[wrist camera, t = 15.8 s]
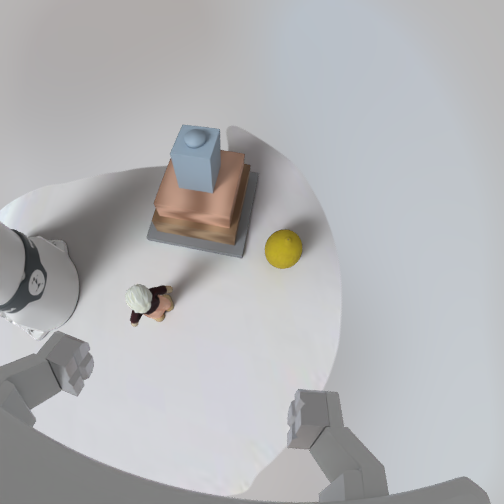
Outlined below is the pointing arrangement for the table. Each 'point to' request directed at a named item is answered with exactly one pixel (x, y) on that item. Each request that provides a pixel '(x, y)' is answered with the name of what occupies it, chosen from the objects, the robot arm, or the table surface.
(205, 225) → the terracotta brick
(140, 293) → the grandmother figurine
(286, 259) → the lemon
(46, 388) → the robot arm
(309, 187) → the table surface
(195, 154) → the blue knobbed block
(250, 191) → the baseplate
